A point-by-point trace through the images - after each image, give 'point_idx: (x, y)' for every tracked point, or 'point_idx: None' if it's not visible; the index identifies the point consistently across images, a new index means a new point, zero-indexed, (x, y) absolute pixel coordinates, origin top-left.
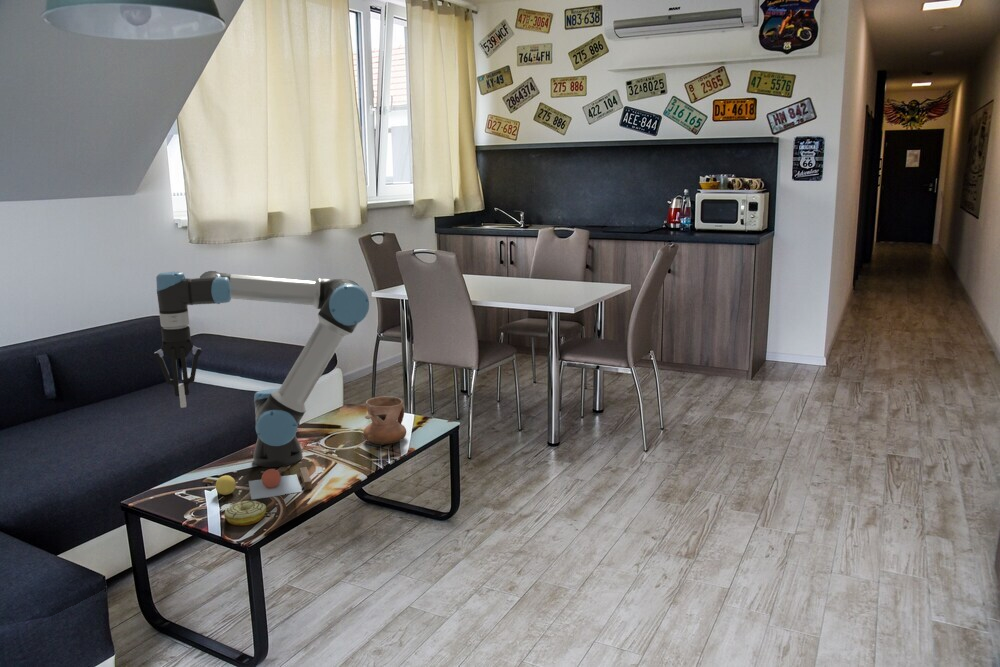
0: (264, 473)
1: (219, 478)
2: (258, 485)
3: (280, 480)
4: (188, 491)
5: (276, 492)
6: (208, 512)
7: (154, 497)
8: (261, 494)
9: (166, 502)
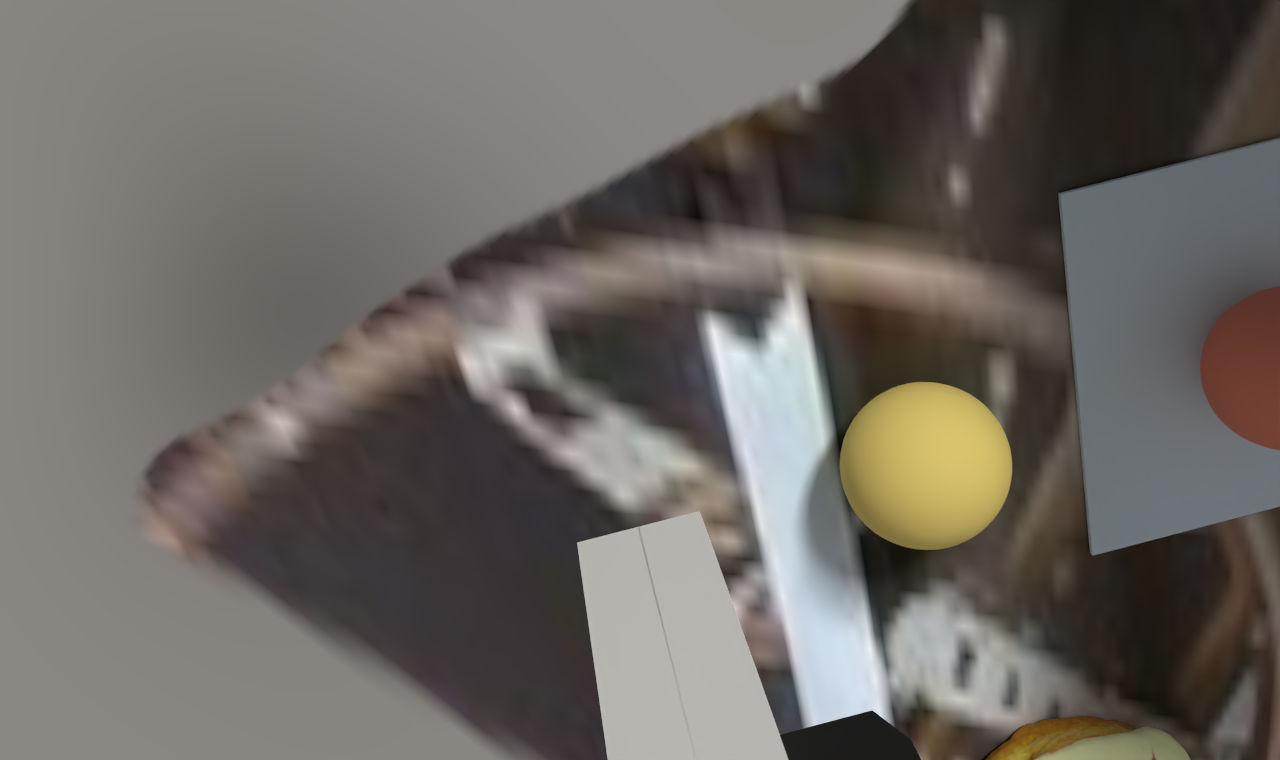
0: (1278, 419)
1: (904, 513)
2: (1143, 305)
3: None
4: (568, 338)
5: (1272, 462)
6: (812, 720)
7: (305, 429)
8: (1164, 485)
9: (449, 536)
